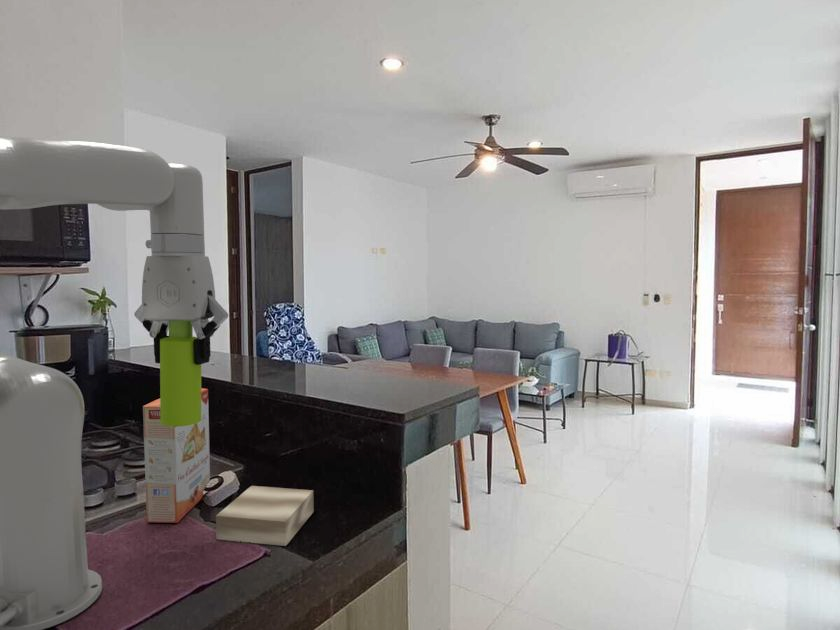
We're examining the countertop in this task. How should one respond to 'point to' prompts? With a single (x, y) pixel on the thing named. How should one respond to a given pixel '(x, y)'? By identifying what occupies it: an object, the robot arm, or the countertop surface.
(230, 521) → the birch stand
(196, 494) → the cracker box
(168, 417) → the soap dispenser
